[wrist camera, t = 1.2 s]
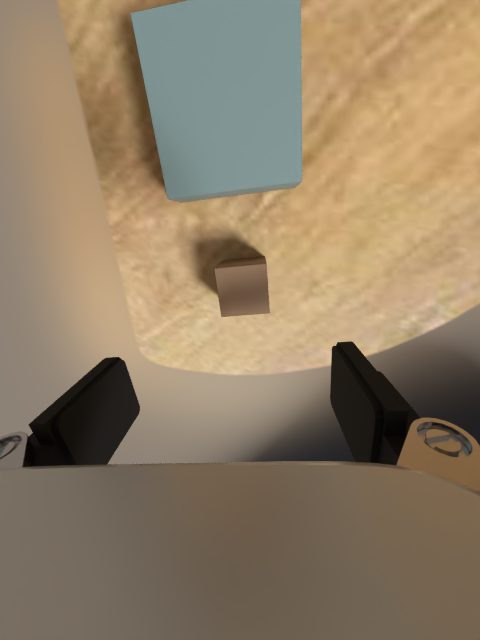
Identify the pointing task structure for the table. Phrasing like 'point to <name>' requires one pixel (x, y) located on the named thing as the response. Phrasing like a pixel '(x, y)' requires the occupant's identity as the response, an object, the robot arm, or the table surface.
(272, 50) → the plinth block
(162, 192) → the table surface
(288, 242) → the table surface
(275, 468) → the robot arm
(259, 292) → the walnut cube
